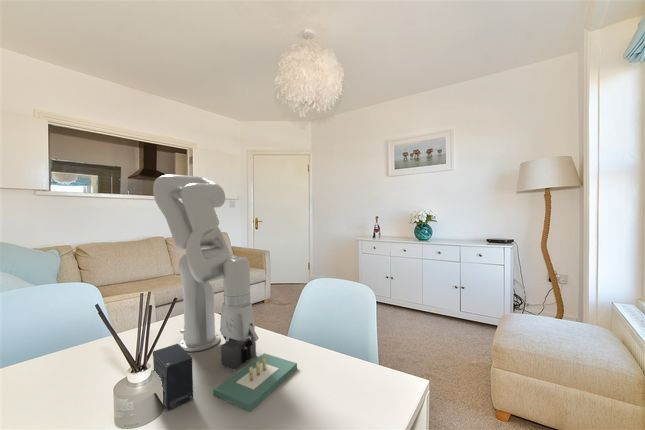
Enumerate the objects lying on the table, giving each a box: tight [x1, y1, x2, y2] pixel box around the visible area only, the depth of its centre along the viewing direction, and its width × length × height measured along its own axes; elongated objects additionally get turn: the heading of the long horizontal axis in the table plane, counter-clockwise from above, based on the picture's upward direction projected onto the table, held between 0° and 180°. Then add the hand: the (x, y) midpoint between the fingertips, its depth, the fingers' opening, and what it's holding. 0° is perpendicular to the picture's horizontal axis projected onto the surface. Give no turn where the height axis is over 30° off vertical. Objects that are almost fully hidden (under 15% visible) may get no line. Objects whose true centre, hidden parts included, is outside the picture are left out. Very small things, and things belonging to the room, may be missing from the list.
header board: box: [212, 352, 298, 412], centre depth 76 cm, size 12×19×2 cm, turn 151°
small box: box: [152, 343, 194, 412], centre depth 70 cm, size 11×6×10 cm, turn 45°
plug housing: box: [220, 339, 257, 371], centre depth 86 cm, size 5×9×6 cm, turn 151°
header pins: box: [249, 357, 266, 381], centre depth 76 cm, size 1×6×4 cm, turn 151°
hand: (239, 357), depth 86 cm, fingers closed on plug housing, 5 cm apart
